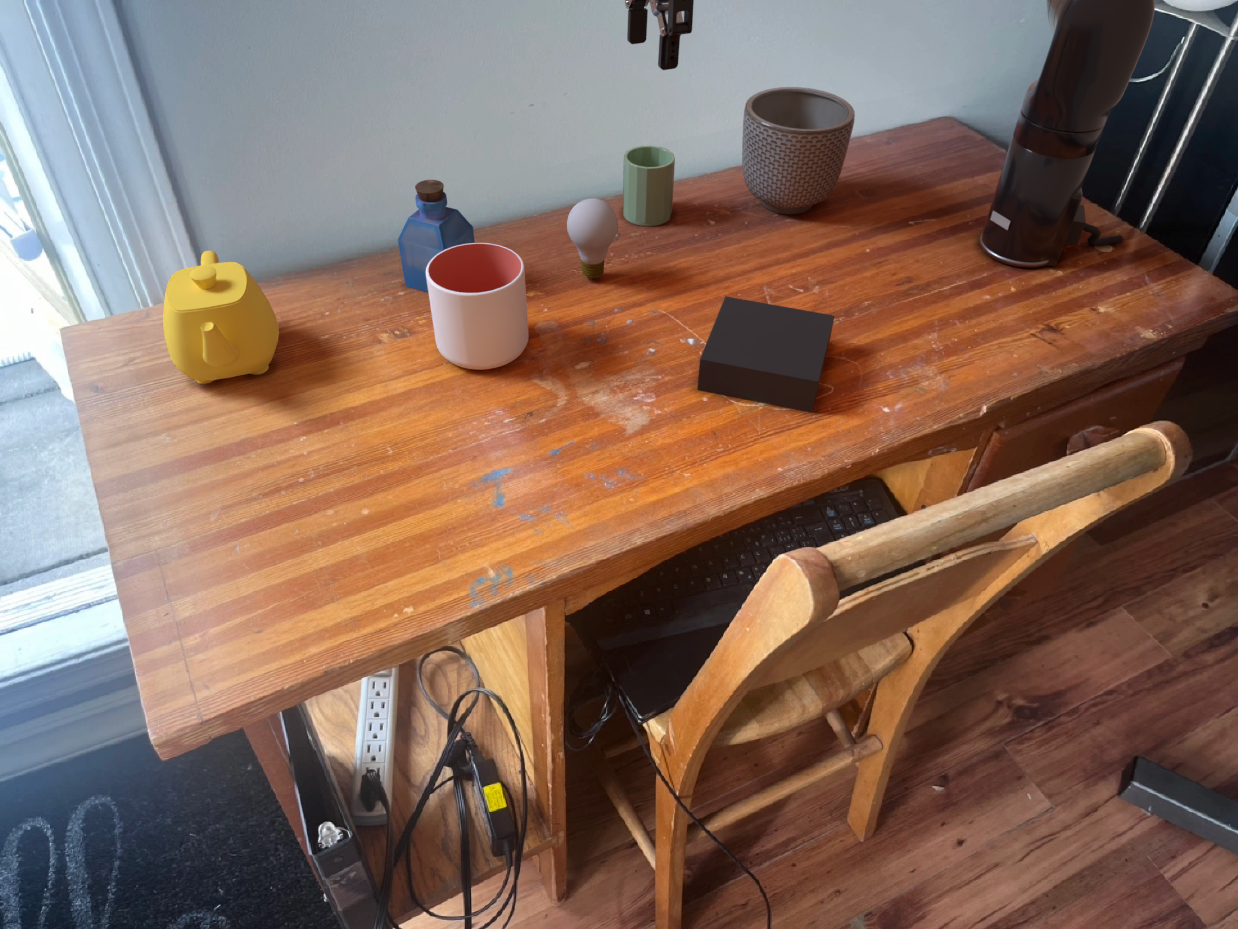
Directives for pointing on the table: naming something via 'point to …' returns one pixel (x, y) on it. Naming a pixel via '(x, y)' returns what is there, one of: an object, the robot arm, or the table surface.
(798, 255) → the table surface
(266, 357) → the teapot
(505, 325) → the cup
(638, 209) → the sage cup
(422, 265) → the perfume bottle
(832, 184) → the planter
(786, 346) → the riser
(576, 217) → the light bulb
